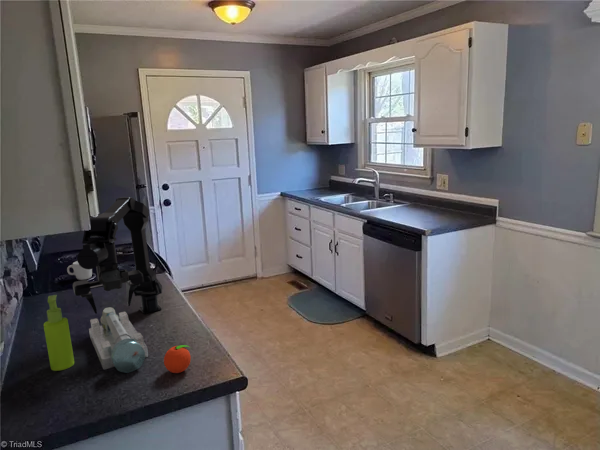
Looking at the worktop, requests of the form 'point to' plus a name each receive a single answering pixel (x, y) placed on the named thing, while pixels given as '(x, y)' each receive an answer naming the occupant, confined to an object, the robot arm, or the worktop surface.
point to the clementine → (177, 359)
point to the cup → (80, 271)
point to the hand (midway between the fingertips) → (112, 309)
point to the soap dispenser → (58, 338)
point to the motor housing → (118, 346)
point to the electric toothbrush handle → (113, 325)
